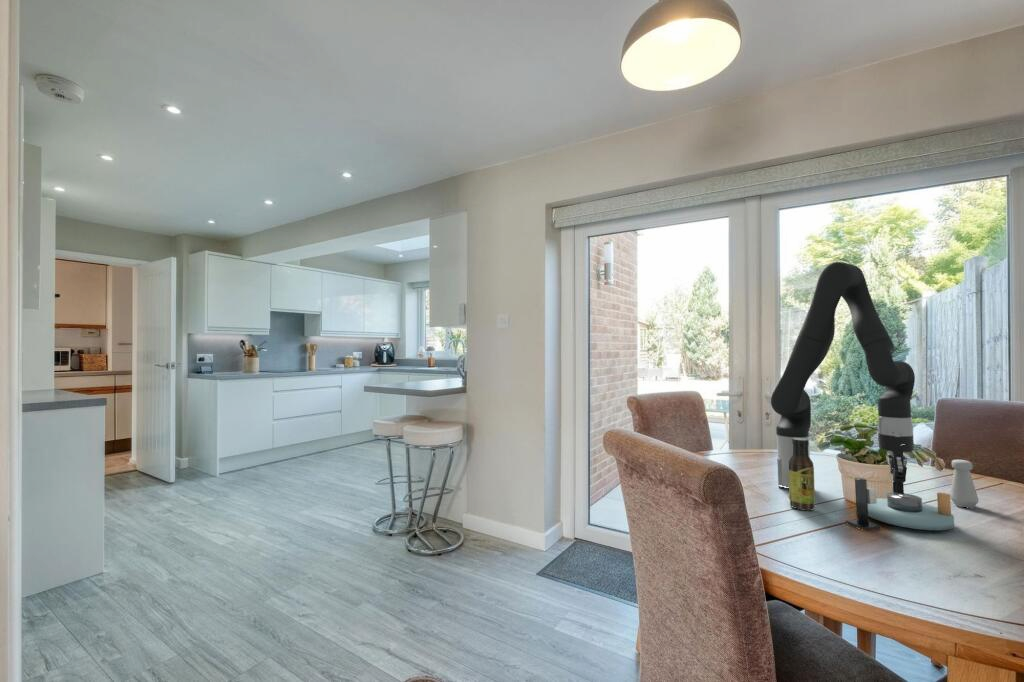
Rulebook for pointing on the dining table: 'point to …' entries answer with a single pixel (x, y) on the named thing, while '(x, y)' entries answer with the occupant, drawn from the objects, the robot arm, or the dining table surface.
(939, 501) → the turntable
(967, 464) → the salt shaker
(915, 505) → the cover
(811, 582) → the dining table surface
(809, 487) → the sauce bottle
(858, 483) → the post
